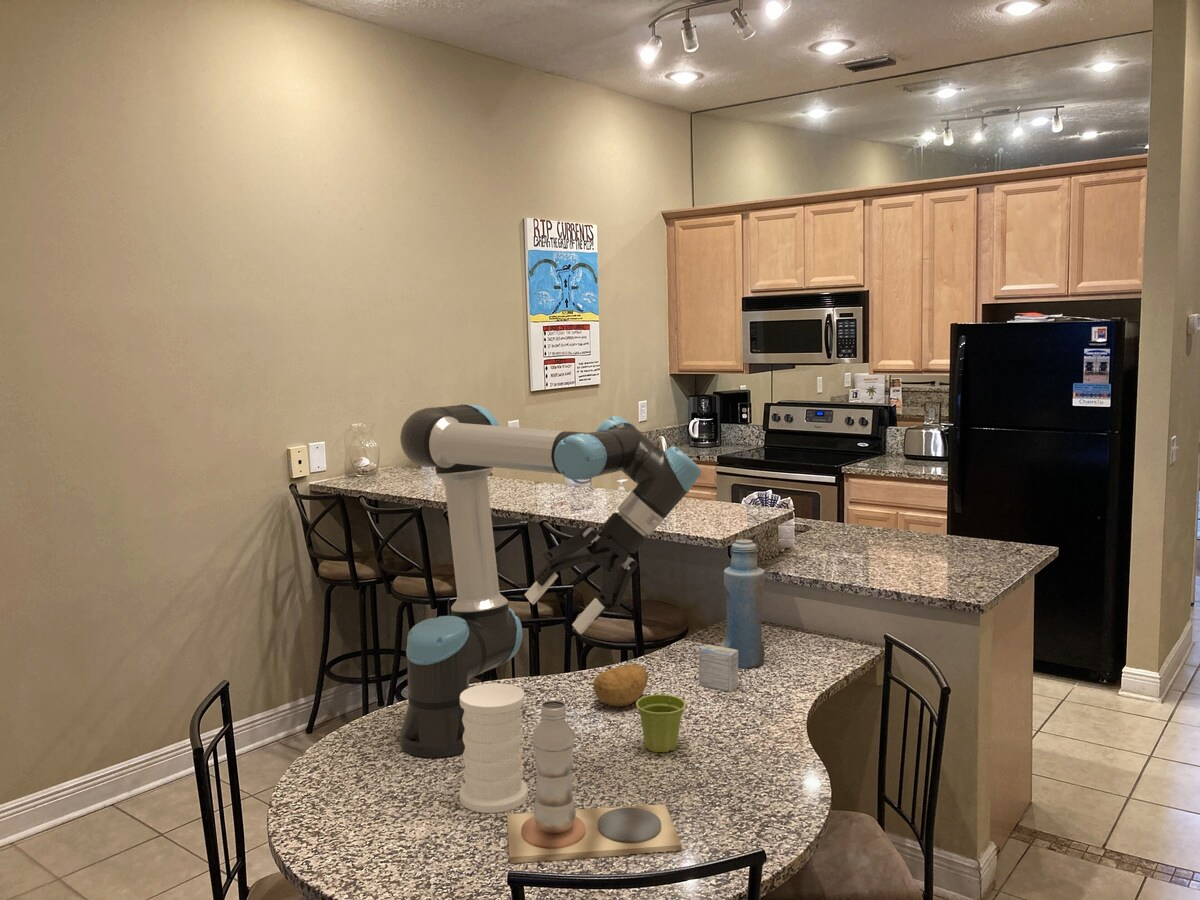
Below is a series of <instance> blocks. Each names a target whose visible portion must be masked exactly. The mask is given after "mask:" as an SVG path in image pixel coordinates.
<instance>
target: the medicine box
mask: <svg viewBox="0 0 1200 900" xmlns="http://www.w3.org/2000/svg"><path fill="white" fill-rule="evenodd" d="M698 686H699V687H703V688H708V689H712V690H713V689H714V690H719V691H723V692H729V693H731V692H733V690H736V688H737V687H739V668H738V650H736V649H731V648H725V647H724V646H718V645H713V644H706V645H704V646H702V647H701V648H699V650H698Z"/></svg>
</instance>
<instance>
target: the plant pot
mask: <svg viewBox="0 0 1200 900" xmlns="http://www.w3.org/2000/svg"><path fill="white" fill-rule="evenodd" d="M635 704H636V705H635V706H636V708H637V710H638V714H639V715H640V721H641V726H642V727H641V728H642V735H643V743H644V747H645V749H648V750H649V751H650V752H652V751H653V752H652V753H657V752H663V753H662V754H665V753H664V752H666V753H668V752H669V751H674V750H676V749H677V747H678V741H679V733H680V726H681V720H682V716H683V714H684V710H685V709H686V704H687V703H686V701H685V700H684V699H682V698H681V697H679V696H676V695H670V694H661V693H659V694H650V695H644V696H642V697H639V698H638V699H637V700H636V701H635Z"/></svg>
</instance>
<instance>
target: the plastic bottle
mask: <svg viewBox="0 0 1200 900" xmlns="http://www.w3.org/2000/svg"><path fill="white" fill-rule="evenodd" d="M540 707H541V710H540V711H541V712H540V717H541V718H542V719H541V720H540V722H539V723H538V724H537V725H536V727H535V729H534V731H533V734H532V736H531V737H532V738H531V739H532V740H531V741H532V746H533V753H534V759H535V770H536V787H535V789H536V790H535V799H534V804H533V812H532V813H533V814H534V819H535V823H536V825H537V826H538V828H539V829H540V830H542V831H544V832H546V833H553V834H556V833H563V832H566V831H568V830H569V829H570V828H571V827H572V826H573V824H574V822H575V816H576V810H577V809H576V803H575V799H574V793H573V784H572V782H573V781H572V767H573V765H572V763H573V762H572V761H573V754H574V745H575V734H574V732H573V729H572V728H571V726H570V725H569V723H568V722H567V721H566V719H565V718H566V717H567V712H566V704H565V702H563V701H562V700H552V699H551V700H547V701H544V702H542V703H541V706H540Z"/></svg>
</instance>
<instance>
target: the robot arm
mask: <svg viewBox="0 0 1200 900" xmlns="http://www.w3.org/2000/svg"><path fill="white" fill-rule="evenodd" d="M400 445H401V449H402V451H403V453H404V455H405V456H406V457H407V459H409V460H410V461H411V462H412V463H414V464H415V465H417V466H419V467H420V466H421V467H423V468H434V469H435V474H436V476H437V477H438V478H439V479H441V480H442V481H443V483H444V487H445V498H446V504H447V505H446V507H447V515H448V526H449V533H450V534H449V535H450V541H451V542H450V543H451V550H452V551H451V552H452V560H453V569H454V578H455V580H454V581H455V588H456V596H457V597H456V600H455V602H454V603H453V604H452V605H451V607H450V609H451V610H450V612H451V615H440V616H438V617H430V618H426V619H424V620H421V621H420V622H418V623H416V624H415V625H413V626H412V628H411V629H410V630H409V632H408V633H407V640H406V641H407V642H406V644H407V645H406V648H405V649H406V650H405V653H406V663H407V664H406V666H407V668H406V669H407V670H406V671H407V672H406V673H407V693H408V697H407V699H408V705H407V709H406V712H405V715H404V719H403V722H402V726H401V729H400V733H399V742H400V743H399V744H400V748H401V749H402V750H403V751H404V752H405V753H407V754H409V755H412V756H415V757H421V758H431V759H432V758H433V759H435V758H447V757H451V756H456V755H460V754H463V753H464V749H465V745H464V742H463V733H464V731H465V728H464V725H463V722H462V717H463V714H464V709H463V708H462V707H461V706H460V694H461V693H462V692H463V691H464V690H466V689H468V688H470V679H472V678H475V677H476V676H478V675H481V674H483V673H485V672H487V671H490V670H492V669H494V668H497V667H498V668H499V667H500V666H503V665H504V664H505V663H506V662H508V661H510V660H511V659H512V658H514V656H516V654H517V653H518V651H519V649H520V648H521V645H522V641H523V627H522V622H521V620H520V617H519V616H517V615H516V612H515V611H514V610H513V609H512V608H511V607H509V599H507V598H506V597H505V596H504V595H502V594H501V593H500V586H499V585H500V583H499V576H498V568H497V567H498V564H497V559H496V549H495V548H496V547H495V540H494V530H493V521H492V512H491V511H492V510H491V502H490V494H489V485H488V476H489V475H490V474H491V473H492V471H493V470H494V468H497V469H499V468H500V469H505V470H507V469H508V470H518V471H527V472H537V473H538V472H539V473H549V474H558V475H562V476H563V477H564V478H567V479H569V480H572V481H574V480H575V481H576V480H577V481H579V480H580V481H581V480H583V481H584V480H585V481H586V480H590V479H593V478H597V477H600V476H603V475H608V474H613V473H616V472H623V474H625V475H626V476H627V477H628V478H629V479H631V481H633V482H634V483H636V486H635V488H633V489H632V491H631V492H630V493H629V494H628V495H627V497H626V498H625V499H624V500H623V501H622V502H621V503H620V504H619V506H618V507H617V510H618V511H617V512H616V511H615V512H613V513H612V514H611V515H610V516H609V517H608V518H607V520H606V521H605V522H604V523H603V525H602V530H601V531H600V532H597V531H596V530H595V529H594V528H593V527H592V526H591V525H586V526H585V527H584V528H583V529H582V530H580V532H578V533H577V534H575V535H573V536H571V537H569V538H568V539H566V540H565V541H563V542H561V543H559V544H558V545H556V546H554V547H552V548H551V549H548V550H547V551H545V552H544V553H542V558H543V559H544V563H545V564H546V565H545V566H544V568H543V569H542V570H541V571H540V572H539V574H537V575H536V577H535V579H534V580H535V582H534V583H532V585H531V586H530V587H529V589H528V590H526V592H525V593H524V596H525V597H526V598H527V601H529V603H531V604H532V605H533V606H534V605H535V604H536V603H537V602H538V601H539V599H540V598H542V596H543V595H544V594H545V593H546V591H547V590H548V589H549V588H550V587H551V586H552V584H553V583H554V582H555V581H556V580H557V579H558V577H559V575H558V574H557V573H558V572H562V571H564V570H567V569H569V568H573V567H575V566H579V565H581V564H584V563H587V562H589V563H593V562H594V564H595V565H597V566H600V568H602V570H603V571H602V578H601V584H600V585H601V586H600V590H599V591H600V592H599V598H597V597H595V598H593V600H592V601H591V602H590V603H589V604H588V605H587V606H586V607H585V609H584V610H583V611H582V612H581V613H580V614H579V616H578V617H577V618H576V619H575V620H574V621H573V623H572V624H571V625H572V627H573V628H574V630H576V632H577V633H578V634H580V635H583V633H584V632H585V631H586V630H587V629H588V628H589V626H591V624H592V623H593V622H594V621H596V620H598V619H599V618H600V616H601V615H602V614H603V613H604V612H605V611H606V609H607V610H608V611H612V610H613V609H614V610H617V609H619V608H620V605H621V603H622V600H623V597H624V595H625V593H626V590H627V587H628V585H629V583H630V580H631V577H632V574H633V573H634V571H635V570H636V569H637V568H638V565H639V564H638V563H637V561H636V560H635V559H633V557H632V556H631V555H630V554H635V553H637V551H638V550H639V549H640V548H641V546H643V545H644V543H645V542H646V539H647V538H646V536H651V534H653V532H654V531H655V530H656V529H657V528H658V526H659V525H661V524H662V522H663V521H664V520H665V518H666V517H667V516H668V515H669V514H670V513H671V511H672V510H673V509H674V508H675V507H676V506H677V505H678V504H679V503H680V502H681V500H683V498H684V497H686V495H687V494H688V493H690V490H691V488H692V487H693V486H694V484H695V483H696V482H697V481H698V480H699V478H700V477H701V475H702V474H701V473H702V470H701V468H700V466H699V465H698V464H697V463H696V462H695V461H694V460H692V459H691V458H690V457H689V455H687V454H686V453H685V452H683V451H682V450H680V448H678V447H676V446H674V445H672V446H669V447H668V449H665V450H663V449H662V448H660V447H659V446H657V445H656V444H655V443H654V442H653V441H652V440H651V439H649V437H647V436H645V434H644V433H642V432H641V431H640V430H639V429H638V428H637V427H636V426H635V425H634V424H633V423H631V422H629V421H627V420H626V419H625V418H623V416H620V415H613V416H610V417H609V418H608V419H605V420H604V421H602V423H600V425H599V426H598V428H597V429H596V430H595V431H591V432H583V431H572V430H571V431H567V430H554V429H553V430H552V429H545V428H544V429H541V428H528V427H517V426H516V427H515V426H505V425H504V426H503V425H500V424H499V422H498V420H497V418H496V417H495V416H494V414H493V413H491V412H490V411H489V410H488V409H487V408H485V407H483V406H481V405H477V404H457V405H447V406H446V405H445V406H438V407H437V406H436V407H426V408H421V409H420V410H417V411H415V412H413V413H412V414H411V415H409V416H408V418H407V419H406V420H405V421H404V423H403V425H402V427H401V431H400Z"/></svg>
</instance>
